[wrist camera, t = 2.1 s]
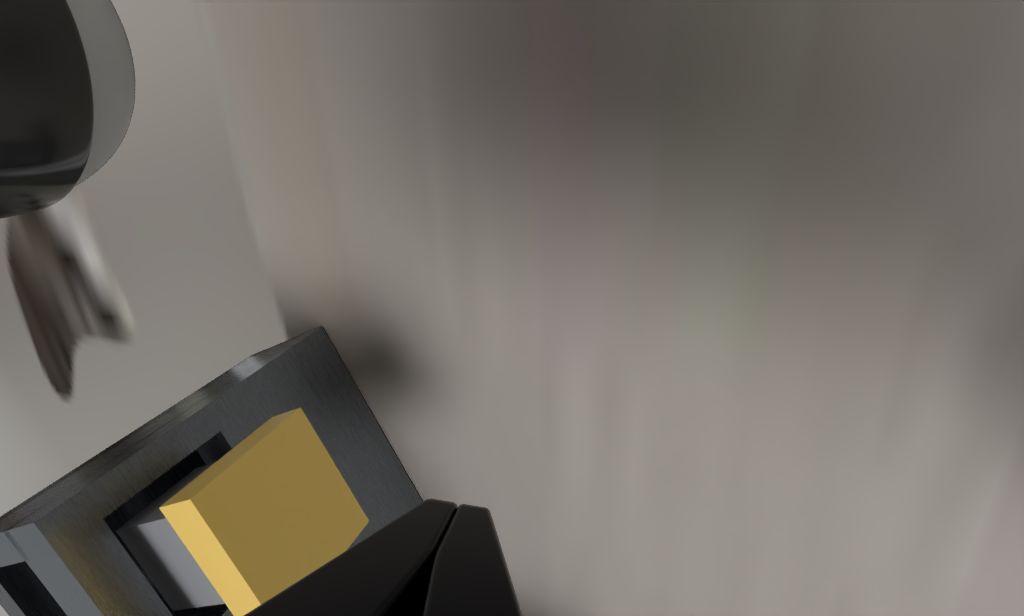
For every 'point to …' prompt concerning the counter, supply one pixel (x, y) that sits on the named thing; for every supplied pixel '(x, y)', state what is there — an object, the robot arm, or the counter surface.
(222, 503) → the amber button
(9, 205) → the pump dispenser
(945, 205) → the counter surface
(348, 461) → the button panel
